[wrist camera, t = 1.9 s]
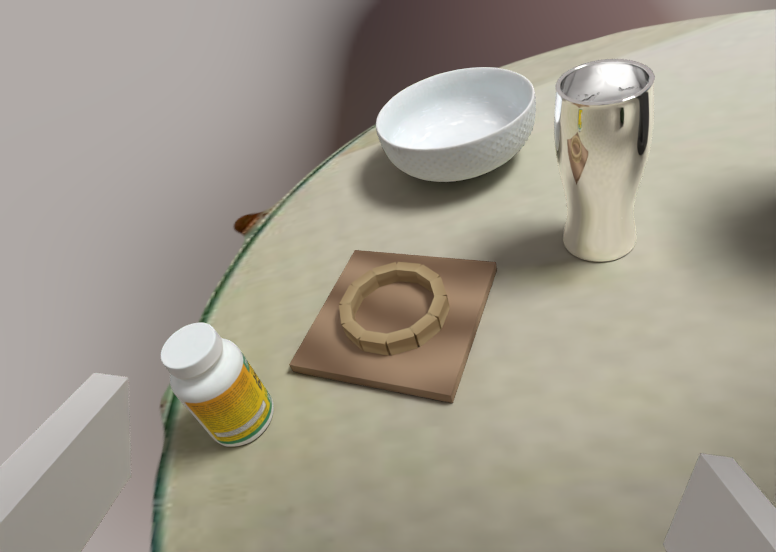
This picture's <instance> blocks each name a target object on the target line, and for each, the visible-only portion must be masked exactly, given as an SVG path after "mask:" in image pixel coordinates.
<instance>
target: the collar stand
mask: <svg viewBox="0 0 776 552" xmlns="http://www.w3.org/2000/svg"><path fill="white" fill-rule="evenodd" d="M496 271H497V268H496V262H489V261H477V260H465V259H453V258H442V257H430V256H418V255H406V254H395V253H383V252H371V251H359V250H355V251H354V253H353V255H352V256H351V258H350V260H349V261H348V263H347V265H346V267H345V268H344V270H343V272H342V274H341V275H340V277H339V279H338V281H337V282H336V284H335V286H334V288H333V289H332V291H331V293H330V295H329V296H328V298H327V300H326V302H325V303H324V305H323V307H322V309H321V310H320V312H319V314H318V316H317V317H316V319H315V321H314V323H313V324H312V326H311V328H310V329H309V331H308V333H307V335H306V336H305V338H304V340H303V342H302V343H301V345H300V347H299V349H298V350H297V352H296V354H295V356H294V357H293V359H292V361H291V363H290V364H289V365H290V367H291V368H292V370H293V372H297V373H302V374H307V375H312V376H317V377H323V378H328V379H333V380H338V381H343V382H348V383H353V384H358V385H363V386H368V387H373V388H379V389H384V390H389V391H394V392H399V393H404V394H409V395H414V396H419V397H424V398H430V399H435V400H440V401H445V402H450V403H453V401H454V398H455V395H456V392H457V389H458V386H459V383H460V380H461V377H462V374H463V371H464V368H465V365H466V362H467V359H468V356H469V353H470V350H471V347H472V344H473V341H474V338H475V335H476V332H477V329H478V326H479V323H480V319H481V316H482V313H483V310H484V307H485V304H486V301H487V298H488V295H489V292H490V289H491V286H492V283H493V280H494V277H495V274H496Z"/></svg>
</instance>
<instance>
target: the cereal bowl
mask: <svg viewBox="0 0 776 552" xmlns="http://www.w3.org/2000/svg"><path fill="white" fill-rule="evenodd" d="M535 99H536V97H535V91H534V87H533V85H532V84H531V82H530V81H529V80H528V79H527V78H525V77H524V76H522V75H520V74H518V73H516V72H513V71H510V70H506V69H500V68H489V67H486V68H485V67H484V68H483V67H478V68H467V69H461V70H455V71H450V72H445V73H442V74H438V75H435V76H432V77H429V78H427V79H424V80H422V81H419V82H418V83H416V84H413V85H411V86H409V87H408V88H406V89H404V90H403V91H401V92H400V93H398V94H397V95H395V96H394V97H393V98H392V99H391V100H390V101H389V102H388V103H387V104H386V105H385V106H384V107H383V108H382V110H381V111H380V113H379V115H378V117H377V121H376V130H377V134H378V137H379V140H380V142H381V145H382V148H383V149H384V152H385V153H386V154H387V156H388V158H389V159H390V160H391V162H392V163H393V164H394V165H395V166H396V167H397V168H399V169H400V170H401V171H403V172H405V173H407V174H409V175H410V176H413V177H416V178H419V179H422V180H426V181H434V182H436V181H437V182H450V181H459V180H466V179H470V178H473V177H477V176H480V175H482V174H485V173H487V172H490V171H492V170H494V169H496V168H497V167H499V166H501V165H502V164H504V163H506V162H507V161H508V160H510V159H511V158H512V157H513V156H514V155H516V153H517V152H518V151H519V150H520V149H521V148H522V147H523V146H524V144H525V142H526V141H527V140H528V137H529V136H530V134H531V131H532V130H533V125H534V120H535V112H536V101H535Z"/></svg>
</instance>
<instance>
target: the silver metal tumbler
mask: <svg viewBox="0 0 776 552" xmlns="http://www.w3.org/2000/svg"><path fill="white" fill-rule="evenodd" d="M654 80H655V76H654V73H653V71H652V70H651V69H650V68H649V67H648V66H646V65H644V64H642V63H639V62H636V61H631V60H624V59H605V60H598V61H592V62H588V63H585V64H582V65H579V66H576V67H574V68H572V69H570V70H568V71H567V72H565V73H564V74H563V75H562V76H561V77H560V78H559V79H558V81H557V83H556V100H555V116H554V141H555V153H556V159H557V164H558V169H559V173H560V177H561V181H562V185H563V189H564V193H565V197H566V202H567V218H566V223H565V228H564V233H563V242H564V245H565V247H566V249H567V250H568V251H569V252H570V253H571V254H573V255H574V256H576V257H578V258H580V259H583V260H587V261H592V262H606V261H612V260H616V259H618V258H621V257H623V256H625V255H626V254H628V253H629V252H630V251H631V250H632V249H633V247H634V245H635V243H636V239H637V234H636V227H635V221H634V204H635V199H636V196H637V192H638V189H639V186H640V183H641V180H642V177H643V174H644V170H645V167H646V164H647V160H648V156H649V152H650V148H651V141H652V134H653V123H654Z"/></svg>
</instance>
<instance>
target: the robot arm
mask: <svg viewBox="0 0 776 552" xmlns="http://www.w3.org/2000/svg"><path fill="white" fill-rule="evenodd" d="M130 449H131V448H130V412H129V378H128V377H122V376H114V375H107V374H100V373H94V374H93V375H92V376H90V377H89V378H88V379H87V381H85V383H83V384H82V385H81V386H80V387H79V388H78V390H76V391H75V392H74V393H73V394H72V395H71V396H70V397H69V398H68V399H67V400H66V401H65V402H64V404H62V405H61V406H60V407H59V408H58V409H57V410H56V411H55V412H54V413H53V414H52V415H51V416H50V417H49V418H48V419H47V420H46V421H45V422H44V423H43V424H42V425H41V426H40V427H39V428H38V429H37V430H36V431H35V432H34V433H33V434H32V435H31V436H30V437H29V438H28V439H27V440H26V441H25V442H24V443H23V444H22V445H21V446H20V447H19V448H18V449H17V450H16V451H15V452H14V453H13V454H12V455H11V456H10V457H9V458H8V459H7V460H6V461H5V462H4V463H3V464H2V465H1V466H0V552H81V551H82V550H83V548H84V547H85V545H86V543H87V542H88V541H89V539H90V538H91V536H92V535H93V533H94V532H95V530H96V529H97V527H98V526H99V524H100V523H101V521H102V520H103V518H104V517H105V515H106V514H107V512H108V510H109V509H110V507H111V506H112V504H113V503H114V501H115V500H116V498H117V497H118V495H119V494H120V492H121V491H122V489H123V488H124V486H125V485H126V483H127V482H128V480H129V479H130V477H131V450H130ZM663 545H664V547H665V549H666V551H667V552H776V508H775V507H774V506H773V505H772V503H771V502H770V501H769V500H768V499H767V498H766V496H765V495H764V494H763V493H762V492H761V491H760V489H759V488H758V487H757V486H756V485H755V483H754V482H753V481H752V480H751V479H750V478H749V476H748V475H747V474H746V473H745V472H744V470H743V469H742V468H741V467H740V466H739V465H738V463H737V462H736V461H735V460H734V459H733V458H732V457H725V456H717V455H710V454H702V453H700V455H699V457H698V460H697V462H696V465H695V467H694V469H693V472H692V474H691V477H690V479H689V482H688V484H687V487H686V489H685V491H684V494H683V496H682V499H681V501H680V504H679V506H678V508H677V511H676V513H675V516H674V518H673V521H672V523H671V526H670V528H669V530H668V533H667V535H666V538H665V540H664V543H663Z"/></svg>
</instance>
